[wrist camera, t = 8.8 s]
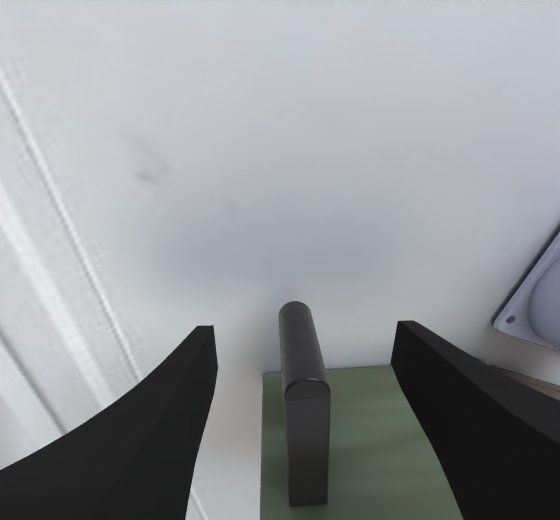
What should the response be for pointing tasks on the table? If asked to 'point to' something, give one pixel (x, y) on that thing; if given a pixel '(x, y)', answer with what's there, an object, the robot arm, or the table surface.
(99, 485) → the robot arm
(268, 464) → the cupboard door
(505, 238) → the table surface
